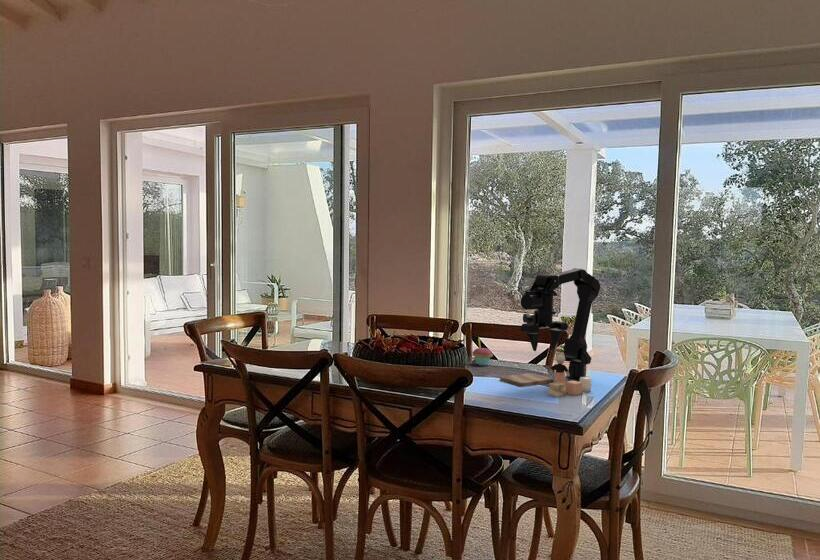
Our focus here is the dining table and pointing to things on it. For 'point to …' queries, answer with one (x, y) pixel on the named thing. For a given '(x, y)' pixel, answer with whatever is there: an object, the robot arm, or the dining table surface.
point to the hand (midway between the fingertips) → (543, 349)
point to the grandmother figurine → (560, 369)
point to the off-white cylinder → (586, 384)
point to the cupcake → (482, 355)
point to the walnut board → (526, 379)
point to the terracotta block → (573, 387)
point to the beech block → (557, 389)
